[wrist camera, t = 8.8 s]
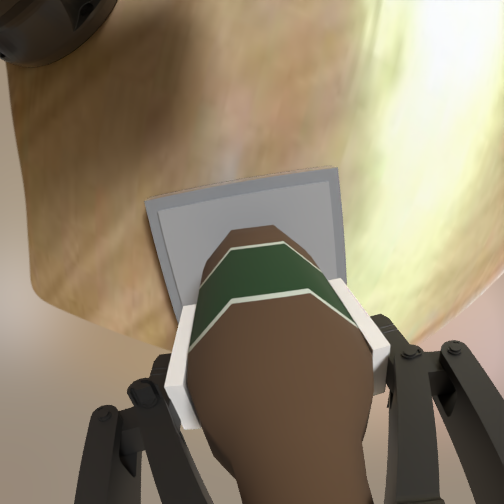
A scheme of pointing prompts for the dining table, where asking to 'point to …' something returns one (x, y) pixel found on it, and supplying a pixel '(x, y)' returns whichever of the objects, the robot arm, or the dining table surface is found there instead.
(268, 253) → the beer bottle
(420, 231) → the dining table surface
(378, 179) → the dining table surface
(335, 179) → the slate stand
